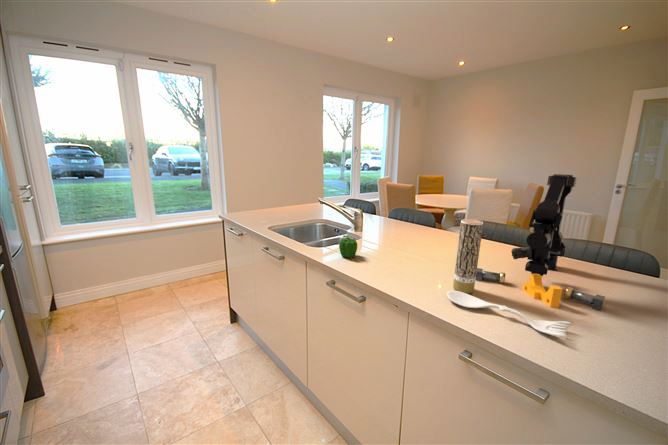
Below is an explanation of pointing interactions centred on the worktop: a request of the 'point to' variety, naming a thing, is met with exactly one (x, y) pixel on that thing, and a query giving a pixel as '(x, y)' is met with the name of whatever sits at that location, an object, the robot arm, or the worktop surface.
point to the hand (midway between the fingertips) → (534, 283)
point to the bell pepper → (348, 247)
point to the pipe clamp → (542, 291)
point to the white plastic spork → (542, 326)
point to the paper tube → (467, 255)
